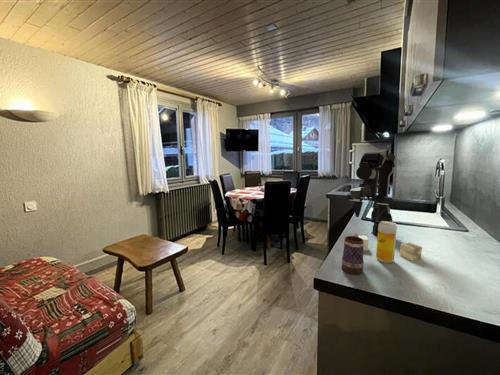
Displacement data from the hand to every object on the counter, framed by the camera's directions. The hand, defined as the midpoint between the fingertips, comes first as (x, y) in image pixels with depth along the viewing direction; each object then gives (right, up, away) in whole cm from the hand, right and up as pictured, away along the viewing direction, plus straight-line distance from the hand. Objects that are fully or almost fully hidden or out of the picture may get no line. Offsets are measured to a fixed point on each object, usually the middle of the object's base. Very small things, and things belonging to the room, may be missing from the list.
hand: (365, 219), depth 96 cm
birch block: (+16, -15, -3) cm, 22 cm away
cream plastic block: (+1, -14, +6) cm, 15 cm away
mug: (-11, -16, -13) cm, 24 cm away
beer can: (+4, -15, -6) cm, 17 cm away
